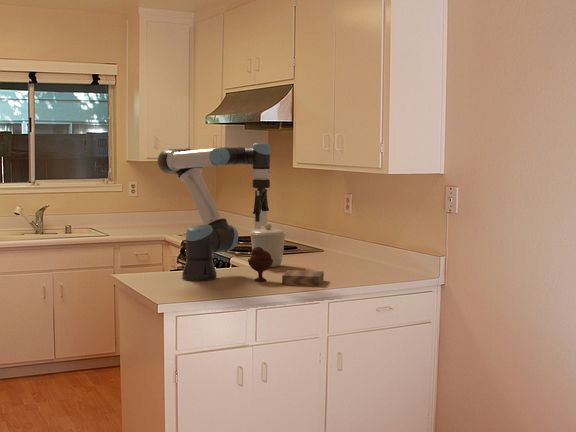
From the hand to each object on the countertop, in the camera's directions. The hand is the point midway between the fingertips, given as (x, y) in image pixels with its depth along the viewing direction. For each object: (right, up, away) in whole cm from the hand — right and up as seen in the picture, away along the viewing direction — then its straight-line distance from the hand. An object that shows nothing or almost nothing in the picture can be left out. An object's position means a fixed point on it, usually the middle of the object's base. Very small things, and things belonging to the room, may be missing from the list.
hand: (260, 227), depth 336 cm
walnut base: (+18, -24, -1) cm, 30 cm away
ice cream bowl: (0, -24, +2) cm, 24 cm away
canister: (+2, -20, +43) cm, 47 cm away
